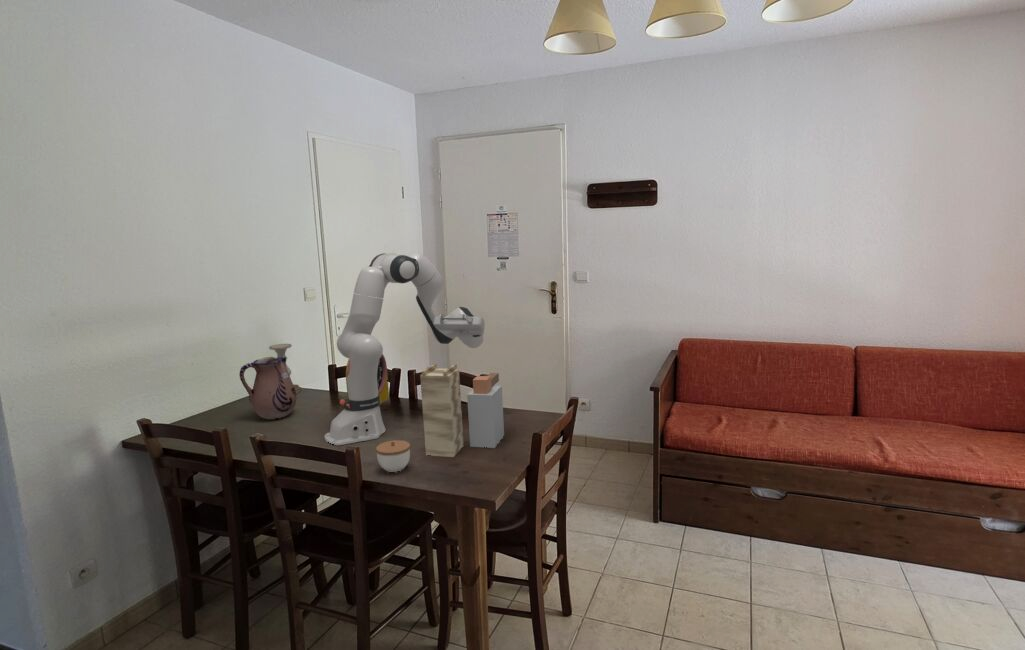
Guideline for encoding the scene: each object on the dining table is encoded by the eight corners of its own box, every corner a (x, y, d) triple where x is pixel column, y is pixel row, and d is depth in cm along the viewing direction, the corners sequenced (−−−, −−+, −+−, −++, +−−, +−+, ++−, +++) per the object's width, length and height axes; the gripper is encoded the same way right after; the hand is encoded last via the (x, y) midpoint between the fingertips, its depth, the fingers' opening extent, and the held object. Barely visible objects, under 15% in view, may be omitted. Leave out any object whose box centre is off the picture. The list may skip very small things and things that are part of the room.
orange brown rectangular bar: (488, 380, 222) (488, 367, 221) (501, 380, 221) (500, 367, 220) (473, 393, 206) (472, 379, 205) (487, 394, 204) (486, 380, 203)
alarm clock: (367, 412, 253) (361, 351, 249) (348, 411, 256) (342, 351, 251) (390, 398, 273) (385, 342, 269) (372, 397, 276) (367, 341, 271)
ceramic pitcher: (306, 414, 254) (300, 357, 250) (258, 428, 238) (251, 367, 234) (284, 407, 265) (278, 353, 261) (238, 420, 249) (230, 362, 245)
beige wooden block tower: (437, 444, 211) (431, 364, 207) (463, 446, 209) (458, 364, 204) (425, 455, 202) (419, 371, 197) (453, 457, 199) (448, 371, 194)
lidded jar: (380, 463, 197) (377, 436, 195) (412, 461, 198) (410, 434, 196) (375, 477, 186) (373, 448, 185) (410, 474, 187) (408, 446, 185)
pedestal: (480, 434, 220) (478, 385, 216) (504, 436, 217) (501, 385, 214) (470, 446, 208) (467, 394, 205) (494, 448, 206) (492, 395, 203)
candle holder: (301, 390, 293) (296, 343, 289) (289, 397, 282) (284, 348, 279) (281, 390, 295) (276, 343, 291) (268, 396, 285) (263, 348, 281)
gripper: (441, 321, 245) (428, 308, 233) (488, 321, 240) (478, 308, 227) (439, 335, 243) (426, 323, 231) (486, 336, 238) (476, 324, 225)
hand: (452, 316), depth 229 cm, fingers open, 8 cm apart
